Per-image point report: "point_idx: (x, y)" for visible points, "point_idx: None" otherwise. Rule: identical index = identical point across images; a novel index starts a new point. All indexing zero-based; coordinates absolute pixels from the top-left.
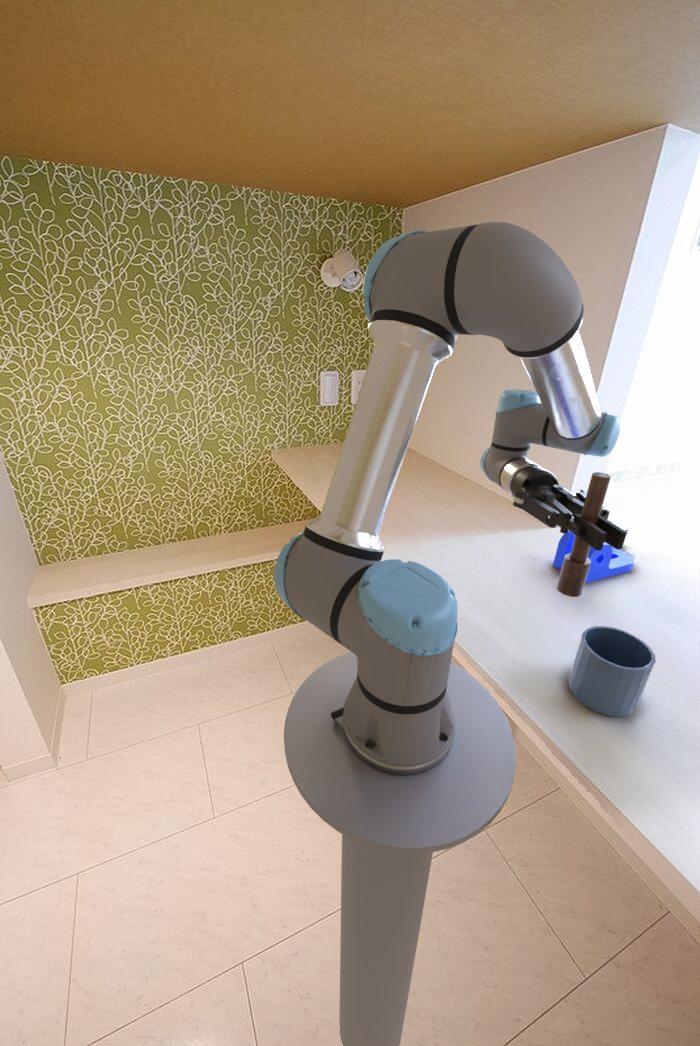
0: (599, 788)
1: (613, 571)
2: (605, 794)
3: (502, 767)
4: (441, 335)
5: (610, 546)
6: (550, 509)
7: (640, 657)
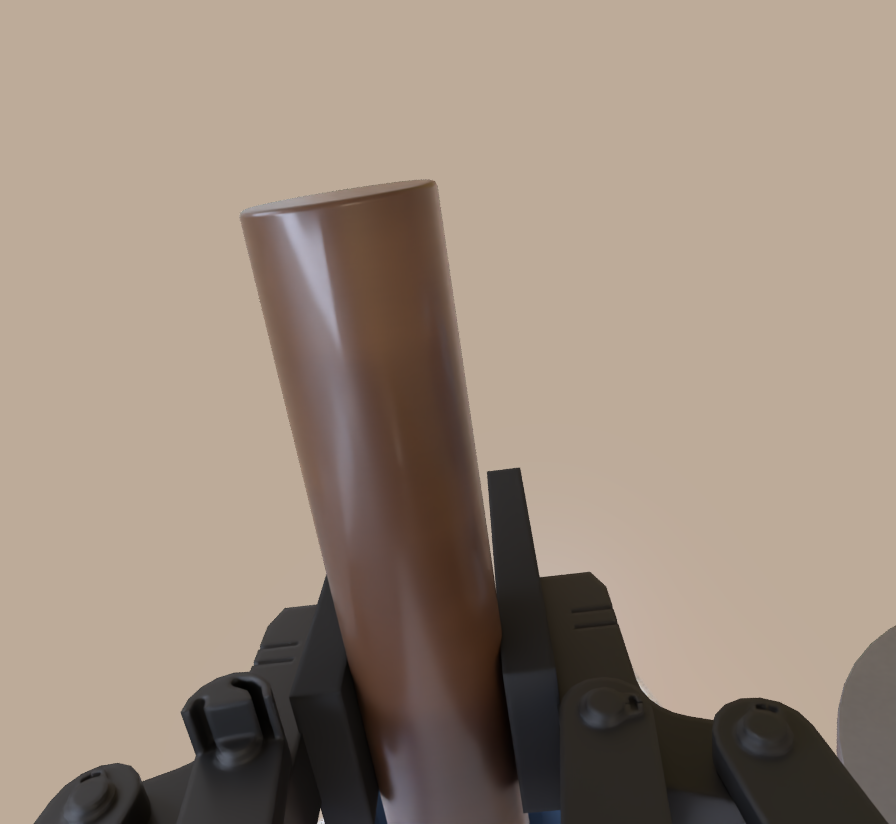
0: (647, 694)
1: None
2: (640, 685)
3: (872, 703)
4: None
5: None
6: (819, 807)
7: None
